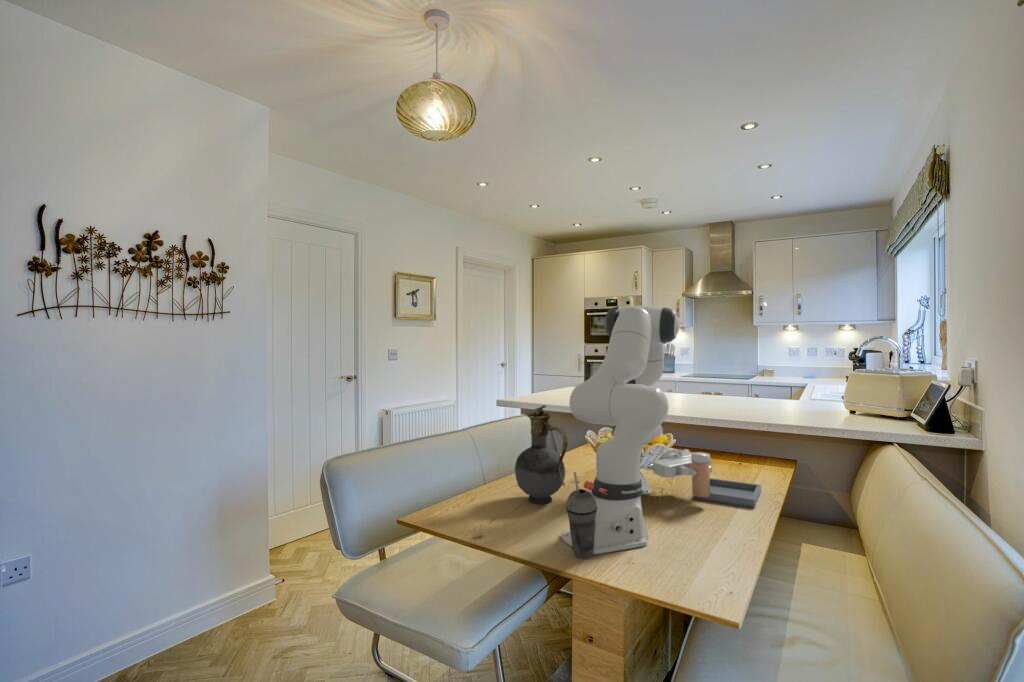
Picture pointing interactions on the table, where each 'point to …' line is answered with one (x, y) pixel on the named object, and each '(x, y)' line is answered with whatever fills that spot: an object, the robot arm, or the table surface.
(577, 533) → the beverage cup
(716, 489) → the tray
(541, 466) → the pitcher
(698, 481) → the shaker
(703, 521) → the table surface
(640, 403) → the robot arm
